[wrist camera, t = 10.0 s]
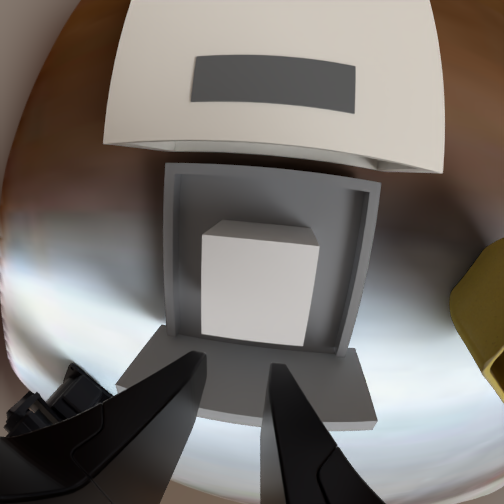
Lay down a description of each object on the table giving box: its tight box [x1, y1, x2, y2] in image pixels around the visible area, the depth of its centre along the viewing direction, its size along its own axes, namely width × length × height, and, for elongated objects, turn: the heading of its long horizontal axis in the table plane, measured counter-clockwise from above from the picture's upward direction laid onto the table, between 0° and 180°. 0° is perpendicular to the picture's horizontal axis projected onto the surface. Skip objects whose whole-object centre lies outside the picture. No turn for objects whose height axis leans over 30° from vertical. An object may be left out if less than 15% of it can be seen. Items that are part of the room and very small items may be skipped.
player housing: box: [103, 0, 445, 173], centre depth 11 cm, size 12×14×7 cm
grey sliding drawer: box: [115, 163, 381, 431], centre depth 14 cm, size 12×14×7 cm
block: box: [201, 220, 320, 346], centre depth 14 cm, size 5×5×4 cm
